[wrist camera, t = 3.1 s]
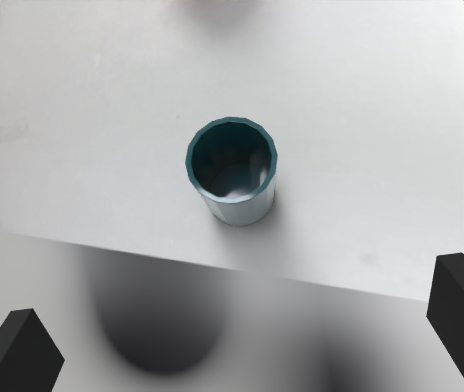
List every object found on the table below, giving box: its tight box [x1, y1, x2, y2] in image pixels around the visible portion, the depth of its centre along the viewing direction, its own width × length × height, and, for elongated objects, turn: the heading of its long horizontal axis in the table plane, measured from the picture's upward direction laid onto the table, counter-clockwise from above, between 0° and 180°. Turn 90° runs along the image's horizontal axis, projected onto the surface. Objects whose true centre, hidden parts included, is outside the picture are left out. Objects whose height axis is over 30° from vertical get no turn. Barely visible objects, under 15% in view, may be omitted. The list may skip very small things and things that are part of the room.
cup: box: [185, 117, 278, 226], centre depth 34 cm, size 7×7×11 cm
